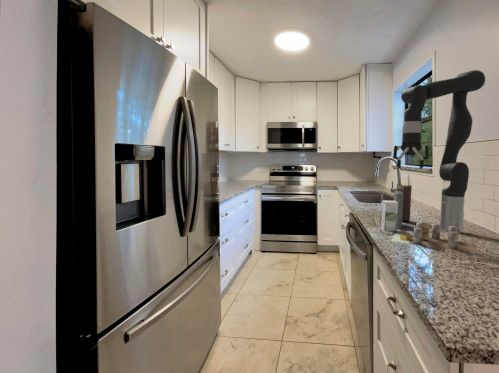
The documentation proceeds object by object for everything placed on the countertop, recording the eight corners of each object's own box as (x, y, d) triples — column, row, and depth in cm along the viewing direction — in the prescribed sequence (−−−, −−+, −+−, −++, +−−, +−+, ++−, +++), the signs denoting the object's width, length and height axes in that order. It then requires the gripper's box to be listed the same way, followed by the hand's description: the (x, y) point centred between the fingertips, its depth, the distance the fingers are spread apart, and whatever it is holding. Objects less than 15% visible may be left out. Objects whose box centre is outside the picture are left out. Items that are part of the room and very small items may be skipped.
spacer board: (473, 244, 132) (475, 227, 131) (477, 255, 118) (478, 236, 117) (412, 237, 143) (412, 221, 143) (408, 245, 129) (409, 228, 128)
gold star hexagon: (407, 237, 139) (407, 232, 139) (414, 240, 134) (414, 235, 134) (396, 237, 138) (397, 233, 138) (403, 240, 134) (403, 235, 133)
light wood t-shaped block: (429, 224, 136) (430, 216, 127) (428, 240, 134) (428, 234, 125) (421, 223, 137) (421, 216, 129) (420, 239, 135) (419, 233, 127)
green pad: (411, 237, 143) (412, 235, 143) (408, 245, 129) (408, 243, 129) (395, 235, 146) (396, 233, 146) (390, 243, 132) (390, 241, 132)
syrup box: (392, 229, 159) (393, 200, 158) (396, 232, 153) (398, 201, 152) (380, 229, 159) (381, 199, 158) (384, 231, 154) (385, 201, 152)
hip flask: (392, 222, 176) (394, 185, 174) (400, 223, 175) (402, 186, 173) (394, 228, 161) (396, 188, 159) (403, 229, 160) (405, 188, 158)
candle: (408, 222, 176) (410, 186, 174) (394, 221, 180) (396, 185, 178) (410, 220, 183) (412, 185, 181) (396, 219, 186) (398, 184, 185)
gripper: (430, 132, 144) (428, 169, 146) (395, 133, 151) (393, 168, 153) (429, 131, 138) (427, 169, 139) (393, 132, 145) (391, 168, 146)
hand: (409, 168), depth 146 cm, fingers open, 8 cm apart
